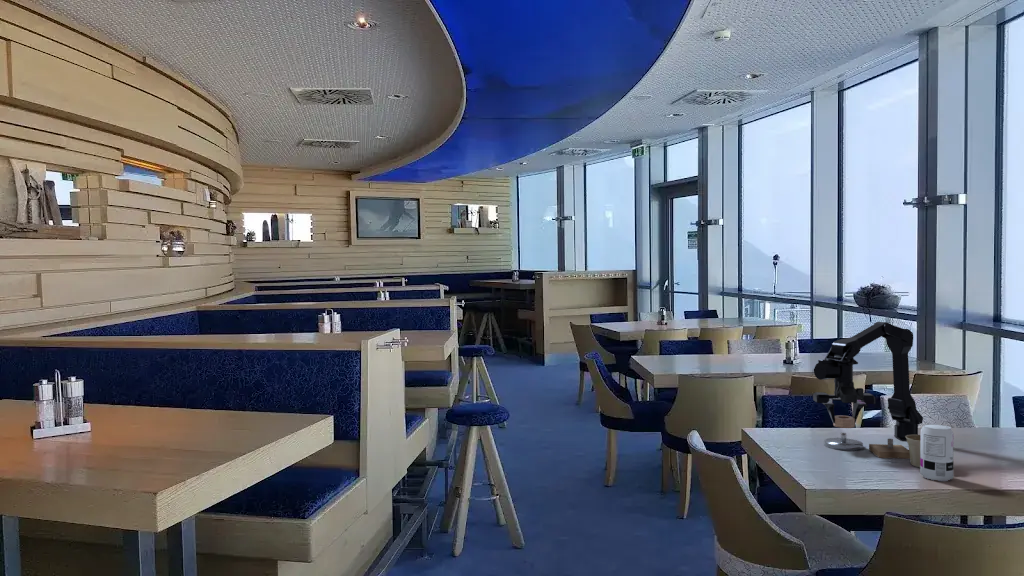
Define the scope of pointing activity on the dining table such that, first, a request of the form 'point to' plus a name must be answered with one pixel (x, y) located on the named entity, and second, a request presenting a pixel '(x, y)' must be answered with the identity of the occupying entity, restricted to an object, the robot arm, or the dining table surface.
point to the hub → (843, 443)
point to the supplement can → (936, 452)
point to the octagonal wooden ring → (844, 421)
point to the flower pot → (914, 449)
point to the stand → (889, 450)
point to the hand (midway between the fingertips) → (843, 423)
